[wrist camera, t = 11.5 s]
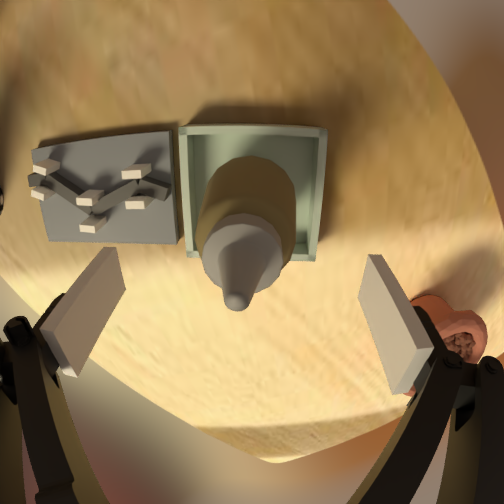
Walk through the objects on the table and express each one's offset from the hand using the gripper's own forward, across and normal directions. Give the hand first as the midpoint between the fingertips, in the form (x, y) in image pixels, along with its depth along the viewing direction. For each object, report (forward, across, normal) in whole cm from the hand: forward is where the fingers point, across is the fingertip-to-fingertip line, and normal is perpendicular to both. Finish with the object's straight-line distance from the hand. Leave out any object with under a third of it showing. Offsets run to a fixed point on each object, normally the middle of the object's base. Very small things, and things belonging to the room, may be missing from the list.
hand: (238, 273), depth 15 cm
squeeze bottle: (+16, 0, -1) cm, 16 cm away
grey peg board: (+17, -17, -1) cm, 24 cm away
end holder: (+17, 0, -1) cm, 17 cm away
